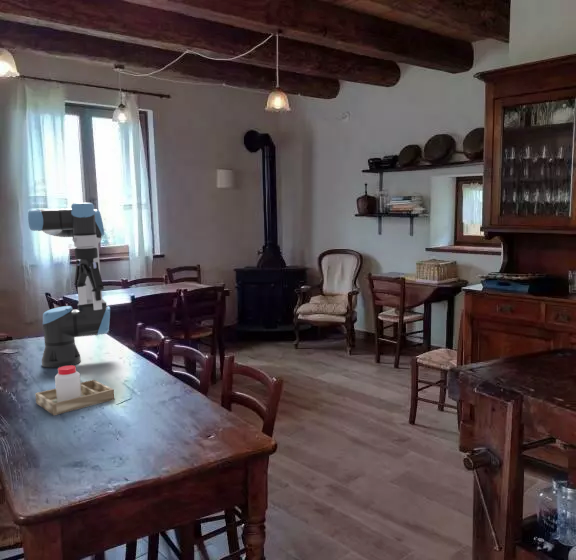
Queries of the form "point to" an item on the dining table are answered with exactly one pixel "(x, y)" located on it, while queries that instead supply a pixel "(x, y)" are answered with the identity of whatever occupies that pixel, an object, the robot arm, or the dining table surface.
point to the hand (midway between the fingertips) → (90, 307)
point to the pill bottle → (67, 383)
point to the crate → (90, 392)
